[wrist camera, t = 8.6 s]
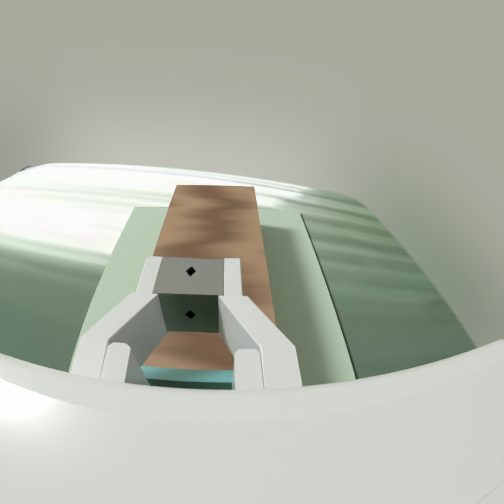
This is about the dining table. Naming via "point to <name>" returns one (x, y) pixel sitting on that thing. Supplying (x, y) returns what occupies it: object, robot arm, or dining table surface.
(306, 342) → the green mat
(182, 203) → the walnut block
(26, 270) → the dining table surface
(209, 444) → the robot arm
